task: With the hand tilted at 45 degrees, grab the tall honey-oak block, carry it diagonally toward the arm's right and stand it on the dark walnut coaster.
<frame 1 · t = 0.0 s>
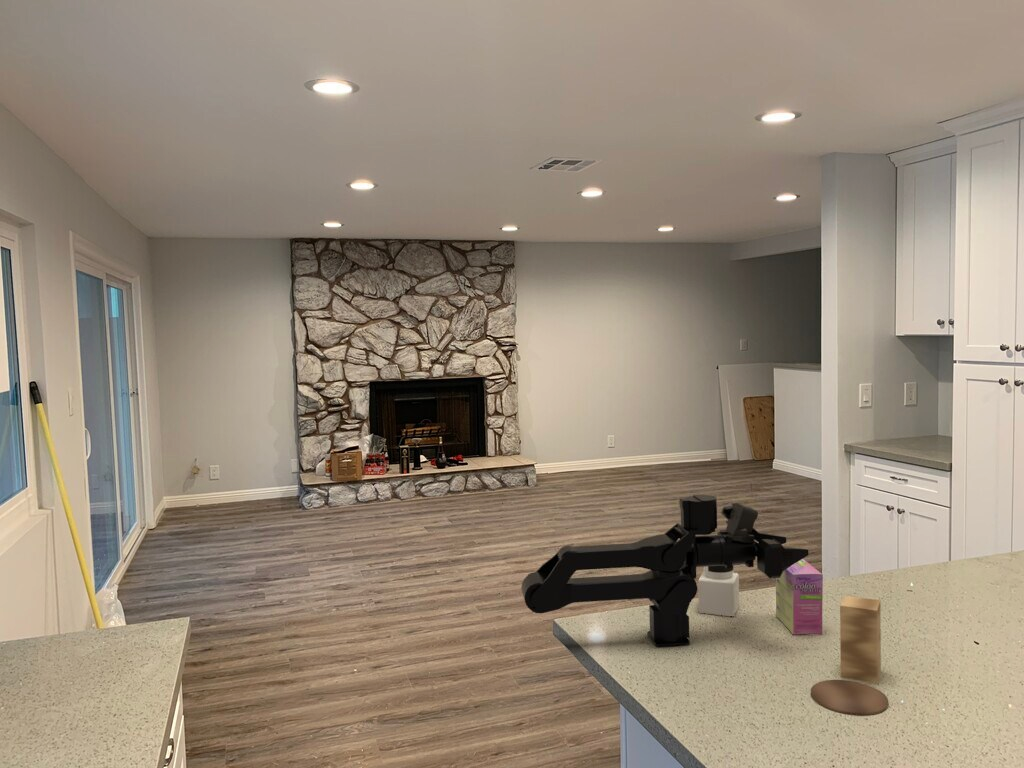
hand: (796, 545, 146), 17 cm above the countertop, tool horizontal, fingers open, 9 cm apart
coaster: (848, 698, 119), on the countertop
oak block: (860, 673, 128), on the countertop
box: (798, 626, 150), on the countertop
medicine bottle: (719, 610, 160), on the countertop
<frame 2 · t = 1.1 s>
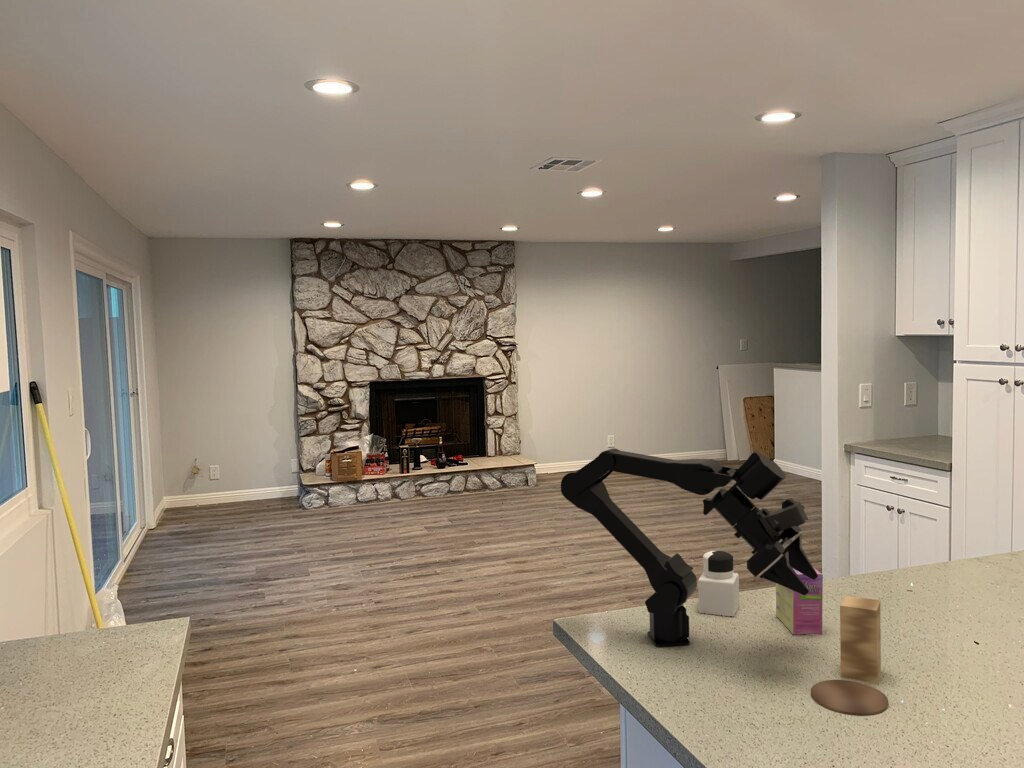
hand: (811, 585, 131), 14 cm above the countertop, tool tilted 45°, fingers open, 9 cm apart
nothing on the countertop moved.
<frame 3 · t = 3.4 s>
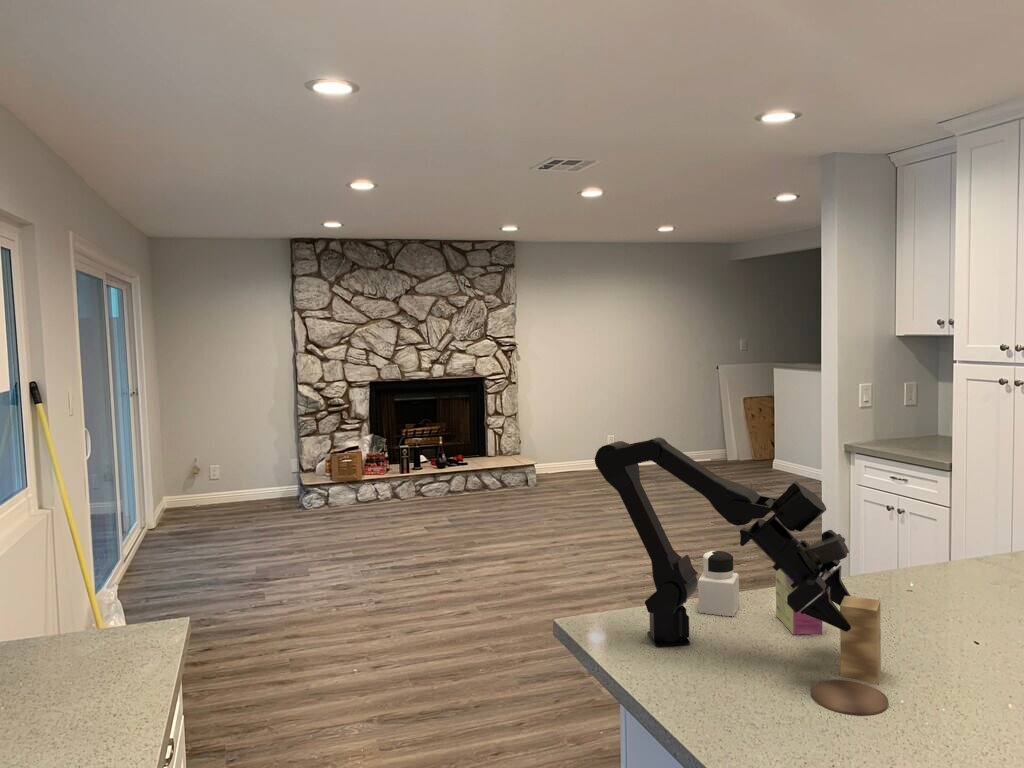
hand: (853, 620, 128), 9 cm above the countertop, tool tilted 45°, fingers open, 9 cm apart
nothing on the countertop moved.
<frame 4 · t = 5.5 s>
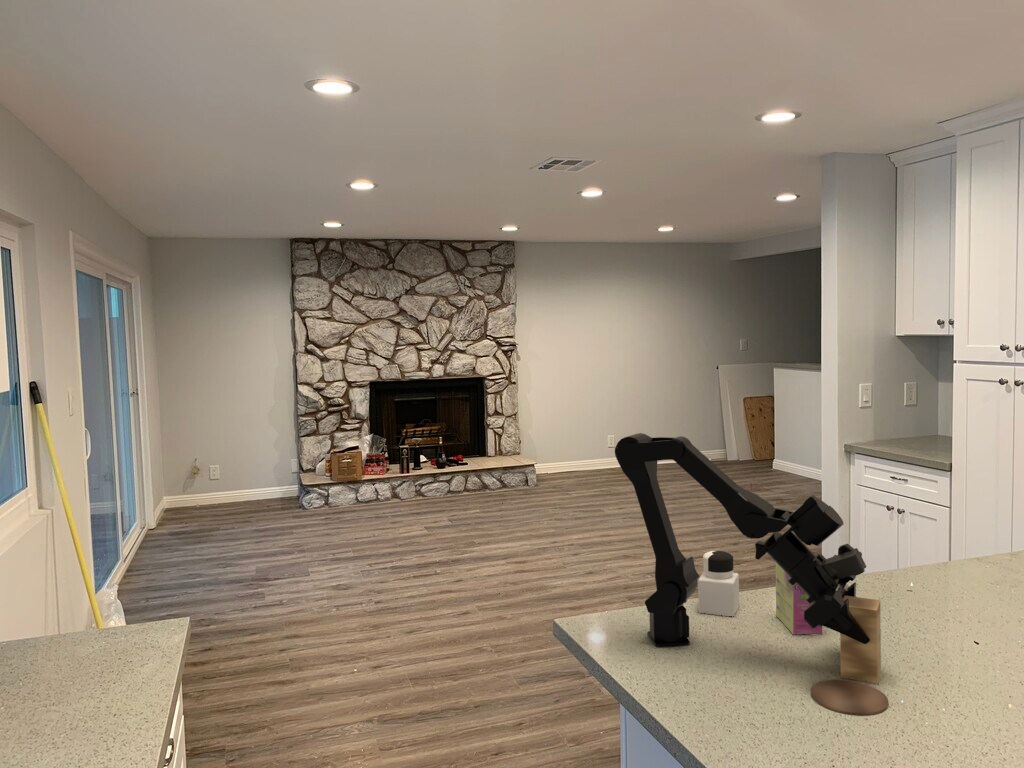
hand: (869, 636, 127), 7 cm above the countertop, tool tilted 45°, fingers closed on oak block, 5 cm apart
oak block: (861, 673, 128), on the countertop, touching gripper
everything else where it was.
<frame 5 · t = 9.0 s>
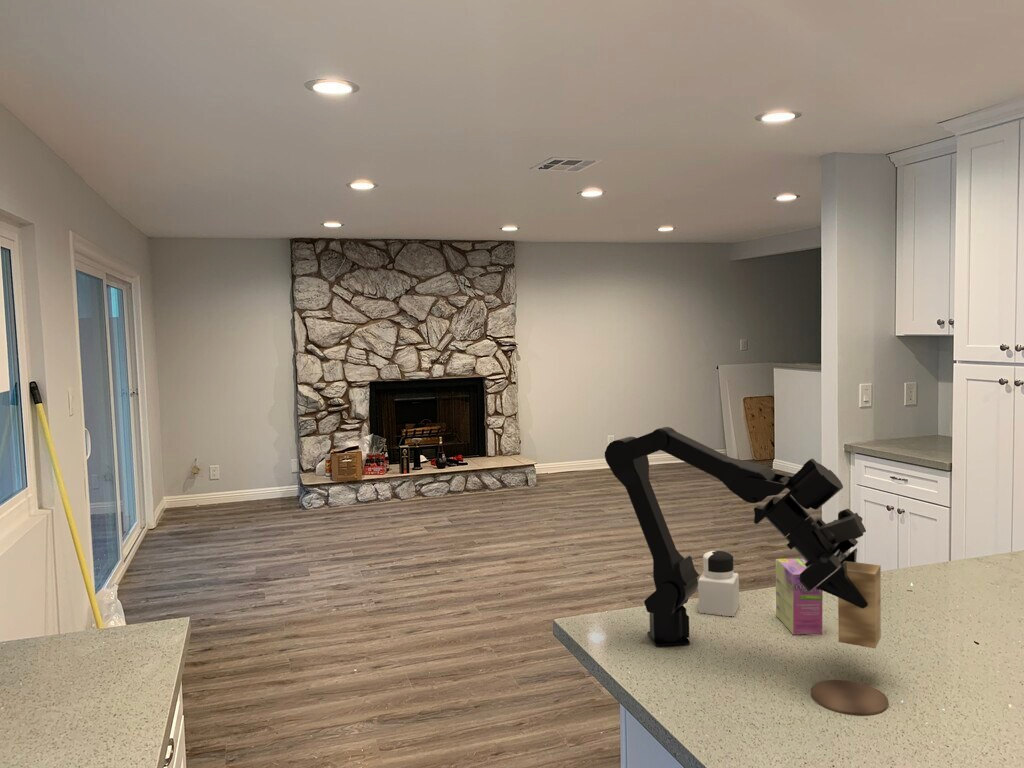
hand: (868, 601, 125), 13 cm above the countertop, tool tilted 45°, fingers closed on oak block, 5 cm apart
oak block: (859, 639, 126), point 6 cm above the countertop, touching gripper
everything else where it was.
when the fingers open (8 cm above the countertop, at t = 12.5 s): oak block stays where it is, resting on coaster.
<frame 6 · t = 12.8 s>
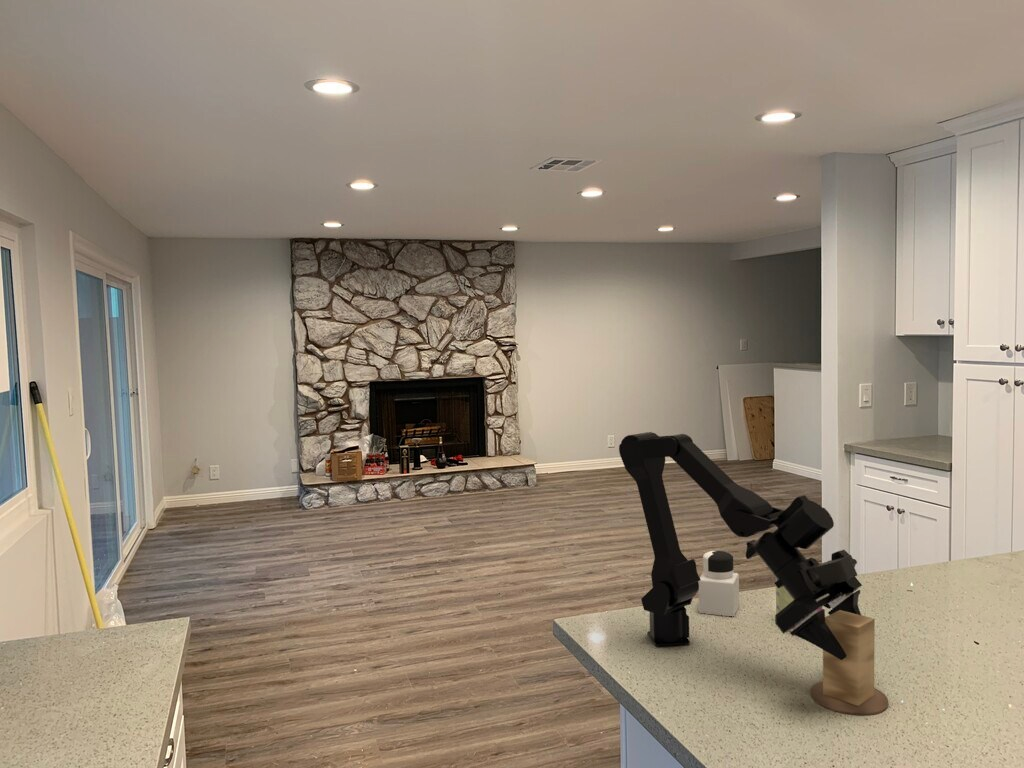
hand: (857, 649, 118), 8 cm above the countertop, tool tilted 45°, fingers open, 8 cm apart
oak block: (848, 694, 119), point 1 cm above the countertop, touching coaster
everything else where it was.
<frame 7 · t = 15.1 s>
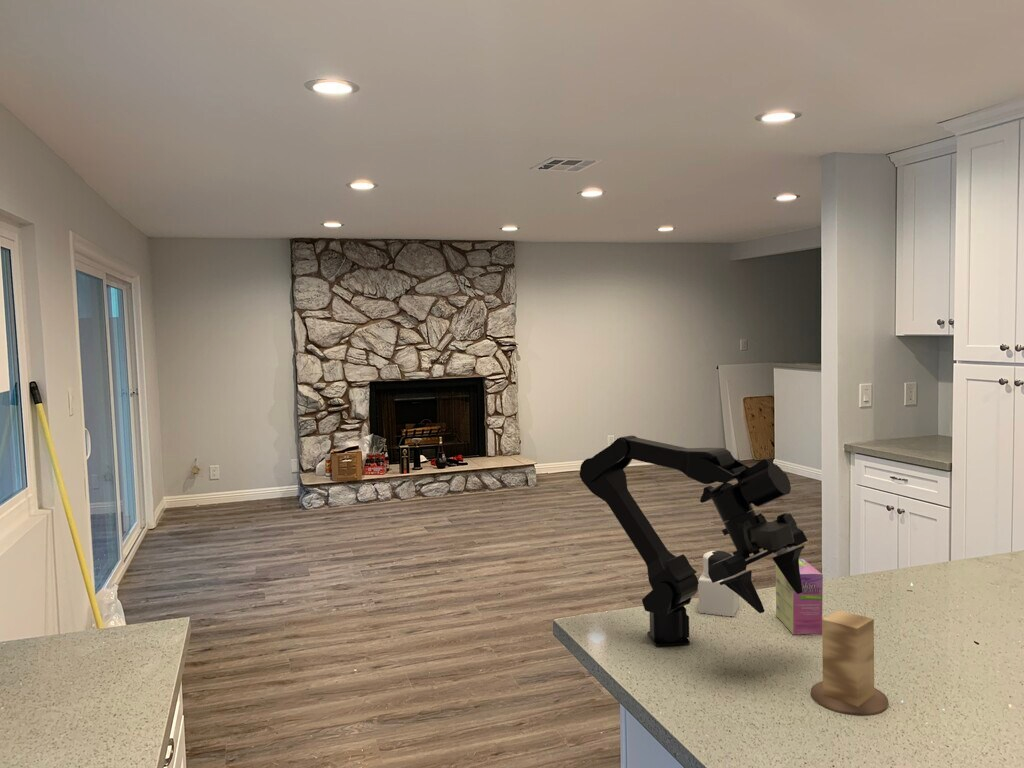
hand: (781, 602, 129), 12 cm above the countertop, tool tilted 30°, fingers open, 9 cm apart
nothing on the countertop moved.
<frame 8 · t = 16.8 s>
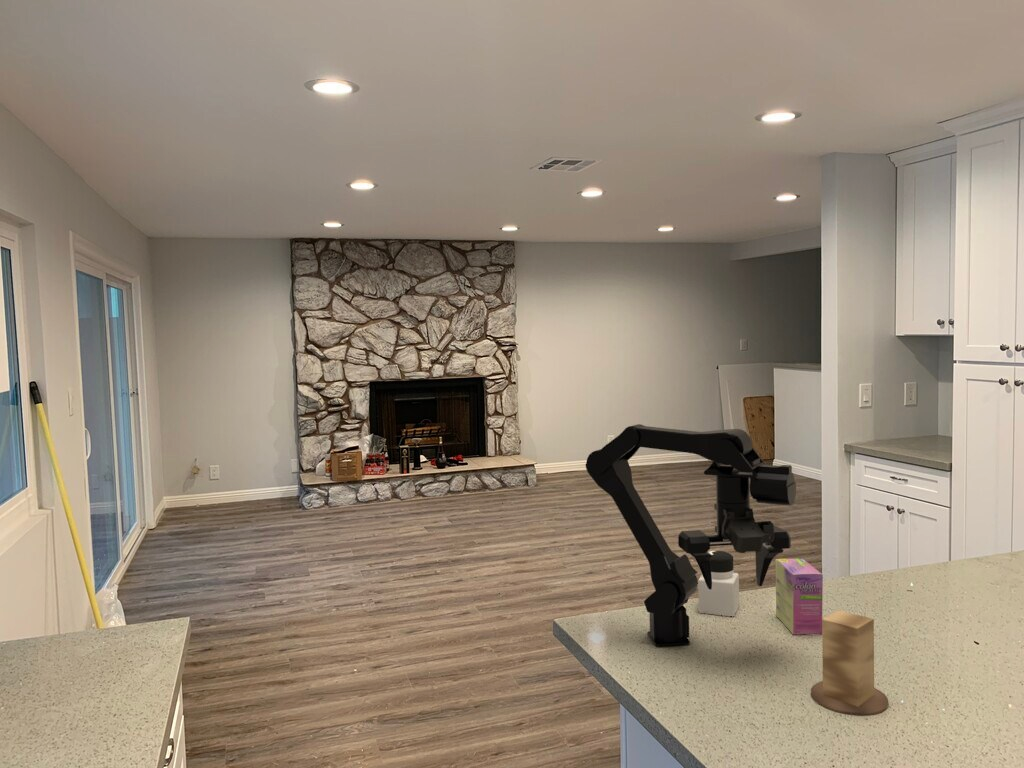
hand: (734, 587, 137), 12 cm above the countertop, tool pointing down, fingers open, 9 cm apart
nothing on the countertop moved.
at the end: oak block 0.0 cm off-centre on the coaster, point 0.5 cm above the coaster's base; oak block tilted 0°; the gripper is holding nothing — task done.
